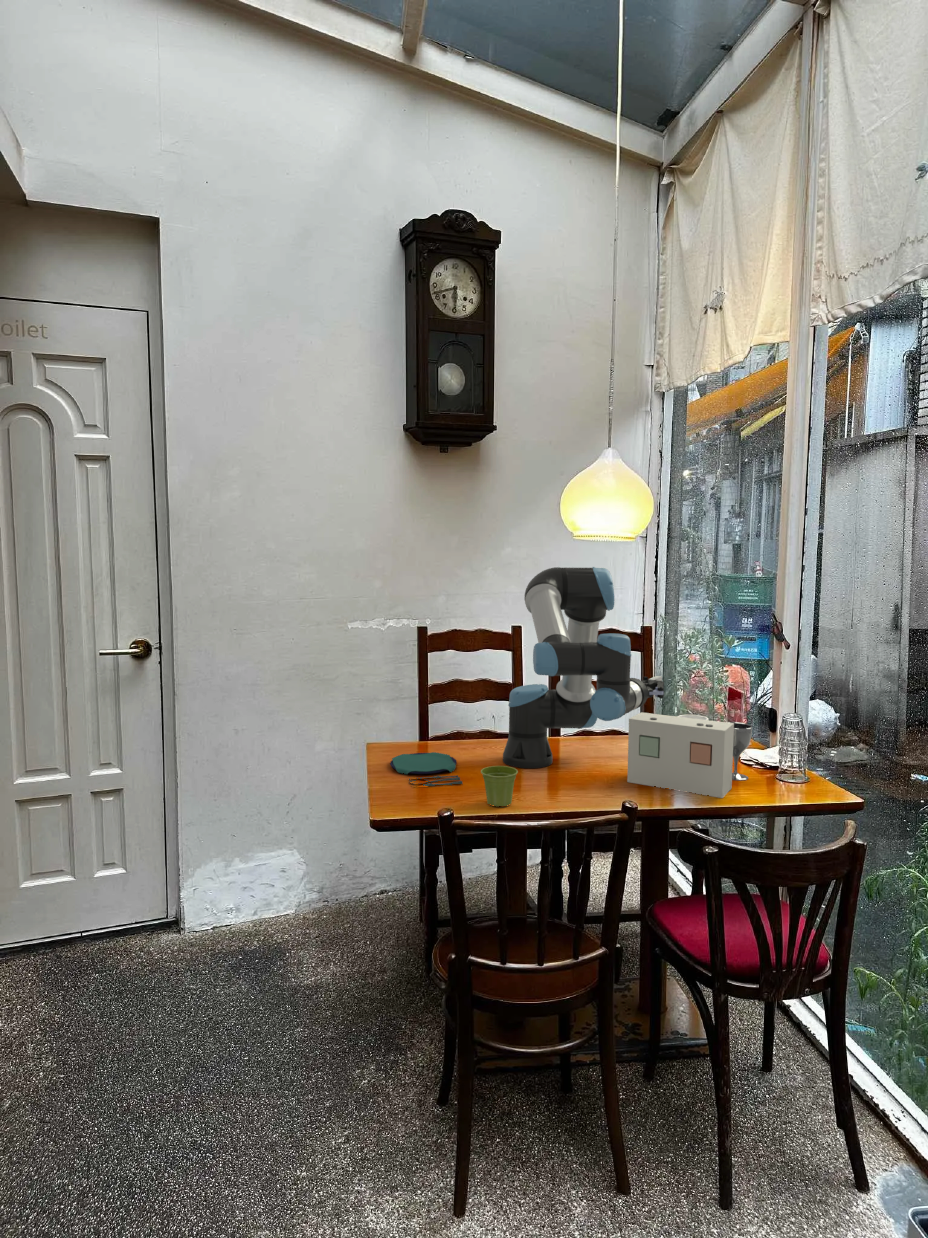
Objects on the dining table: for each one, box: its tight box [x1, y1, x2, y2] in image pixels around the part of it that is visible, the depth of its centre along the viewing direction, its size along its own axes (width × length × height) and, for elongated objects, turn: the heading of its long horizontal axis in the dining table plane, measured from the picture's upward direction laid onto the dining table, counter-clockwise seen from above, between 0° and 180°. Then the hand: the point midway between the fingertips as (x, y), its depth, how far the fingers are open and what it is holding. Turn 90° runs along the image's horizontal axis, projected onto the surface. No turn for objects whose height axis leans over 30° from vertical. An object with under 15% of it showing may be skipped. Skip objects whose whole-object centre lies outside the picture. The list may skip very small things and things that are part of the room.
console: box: [626, 711, 734, 799], centre depth 214 cm, size 10×26×18 cm, turn 58°
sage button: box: [640, 735, 660, 757], centre depth 216 cm, size 6×5×5 cm
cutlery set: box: [389, 751, 463, 787], centre depth 227 cm, size 20×30×2 cm, turn 11°
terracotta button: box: [691, 742, 712, 765], centre depth 209 cm, size 6×5×5 cm
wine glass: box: [727, 721, 753, 782], centre depth 223 cm, size 8×8×15 cm
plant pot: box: [480, 765, 519, 807], centre depth 199 cm, size 9×9×9 cm
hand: (659, 681), depth 208 cm, fingers closed
